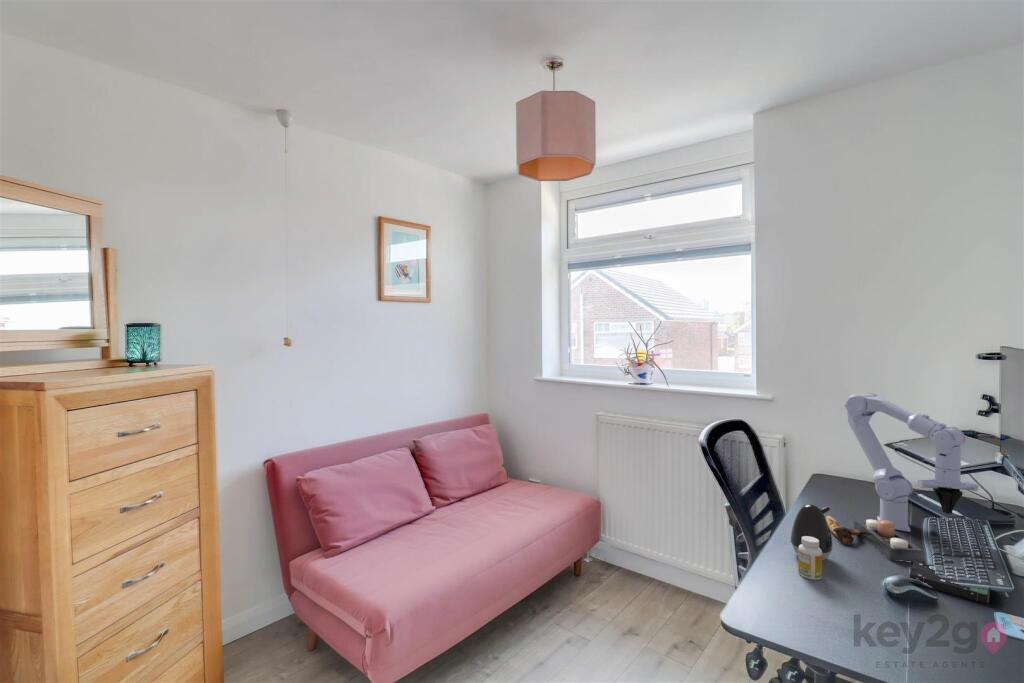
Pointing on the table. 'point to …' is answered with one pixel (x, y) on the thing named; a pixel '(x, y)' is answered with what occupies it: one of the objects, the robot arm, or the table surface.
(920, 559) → the panel
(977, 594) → the disk drive
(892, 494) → the robot arm
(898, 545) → the knob
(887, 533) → the brown egg
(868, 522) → the knob
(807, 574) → the supplement bottle
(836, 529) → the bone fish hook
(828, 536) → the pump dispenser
